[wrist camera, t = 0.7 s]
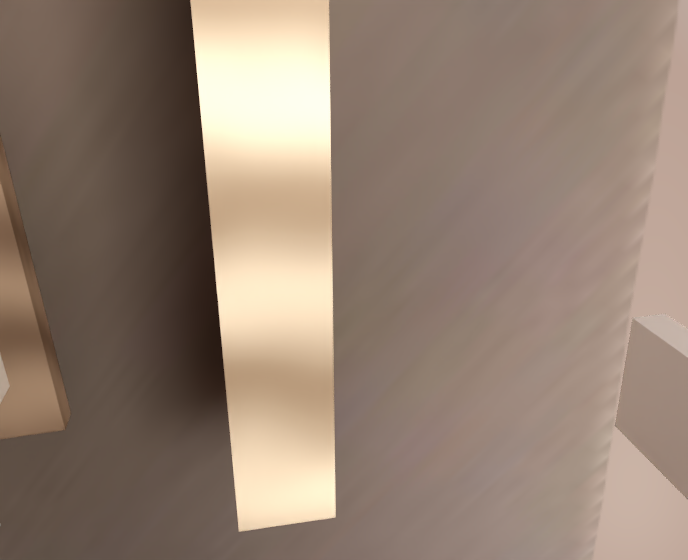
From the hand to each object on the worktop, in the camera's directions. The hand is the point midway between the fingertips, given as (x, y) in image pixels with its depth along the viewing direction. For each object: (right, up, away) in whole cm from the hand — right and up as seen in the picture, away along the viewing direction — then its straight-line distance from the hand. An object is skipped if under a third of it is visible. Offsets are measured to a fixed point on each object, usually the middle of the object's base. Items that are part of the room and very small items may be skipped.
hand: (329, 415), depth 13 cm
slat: (-4, +8, +19) cm, 21 cm away
